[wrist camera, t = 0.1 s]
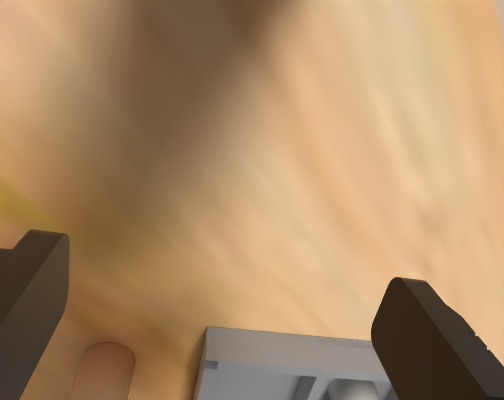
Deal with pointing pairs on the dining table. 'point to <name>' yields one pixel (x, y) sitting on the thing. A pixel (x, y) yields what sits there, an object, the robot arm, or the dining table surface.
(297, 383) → the gray divided tray
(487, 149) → the dining table surface
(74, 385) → the tan round-top cylinder
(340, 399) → the white capsule
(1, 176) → the dining table surface
